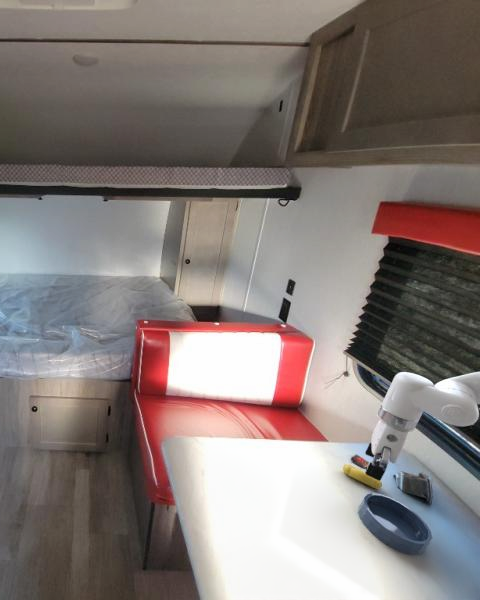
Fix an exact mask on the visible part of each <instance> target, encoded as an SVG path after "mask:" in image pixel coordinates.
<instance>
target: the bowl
mask: <svg viewBox="0 0 480 600" xmlns="http://www.w3.org/2000/svg"><path fill="white" fill-rule="evenodd" d="M357 513H358V516H359V519H360V521H361V523H362V524H363V525H364V526H365V527H366V529H367V530H368V531H369V532H370V533H371V534H372V535H373V536H374V537H375V538H377V539H378V540H379V541H380V542H382V543H383V544H385V545H387V546H388V547H389V548H391V549H392V550H393V549H394V550H395V551H398V552H400V553H402V554H406V555H410V556H419V555H421V554H423V553H424V552H425V551H426V549H427V548H428V546H429V545H430V544H431V543H432V540H433V534H432V531H431V529H430V528H429V526H428V524H427V523H426V522H425V520H423V519H422V518H421V516H419V515H418V514H417V513H416V512H415V511H414V510H413V509H411V508H410V507H408V506H407V505H406V504H403V503H402V502H400V501H399V500H397V499H394V498H393V497H391V496H387V495H384V494H382V493H377V492H376V493H375V492H372V493H367V494H365V496H364V497H363V499H362V501H361V502H360V504H359V506H358V508H357Z"/></svg>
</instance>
